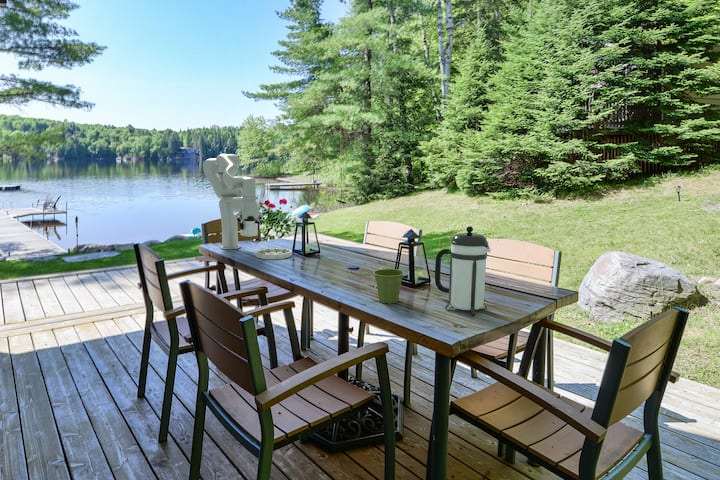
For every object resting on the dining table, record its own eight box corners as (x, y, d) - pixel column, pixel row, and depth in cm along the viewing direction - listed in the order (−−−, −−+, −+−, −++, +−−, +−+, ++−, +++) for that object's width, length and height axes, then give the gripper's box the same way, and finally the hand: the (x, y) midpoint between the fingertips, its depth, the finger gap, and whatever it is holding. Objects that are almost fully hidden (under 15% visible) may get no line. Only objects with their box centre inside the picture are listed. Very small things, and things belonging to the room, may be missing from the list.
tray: (250, 254, 250) (250, 249, 250) (281, 251, 262) (281, 246, 262) (265, 260, 234) (265, 255, 234) (297, 256, 246) (297, 251, 246)
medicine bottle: (258, 235, 255) (257, 215, 252) (248, 237, 249) (248, 216, 247) (249, 233, 259) (249, 213, 256) (240, 235, 253) (240, 214, 250)
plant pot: (384, 294, 173) (385, 267, 171) (410, 300, 165) (410, 271, 163) (366, 301, 164) (366, 272, 162) (392, 307, 156) (392, 277, 154)
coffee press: (479, 302, 163) (483, 223, 158) (493, 316, 148) (498, 229, 143) (433, 302, 163) (436, 223, 158) (442, 316, 147) (446, 229, 142)
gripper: (260, 198, 258) (260, 226, 261) (231, 199, 247) (232, 229, 251) (265, 199, 252) (266, 228, 255) (236, 200, 241) (237, 230, 245)
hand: (249, 228), depth 253 cm, fingers closed on medicine bottle, 8 cm apart
